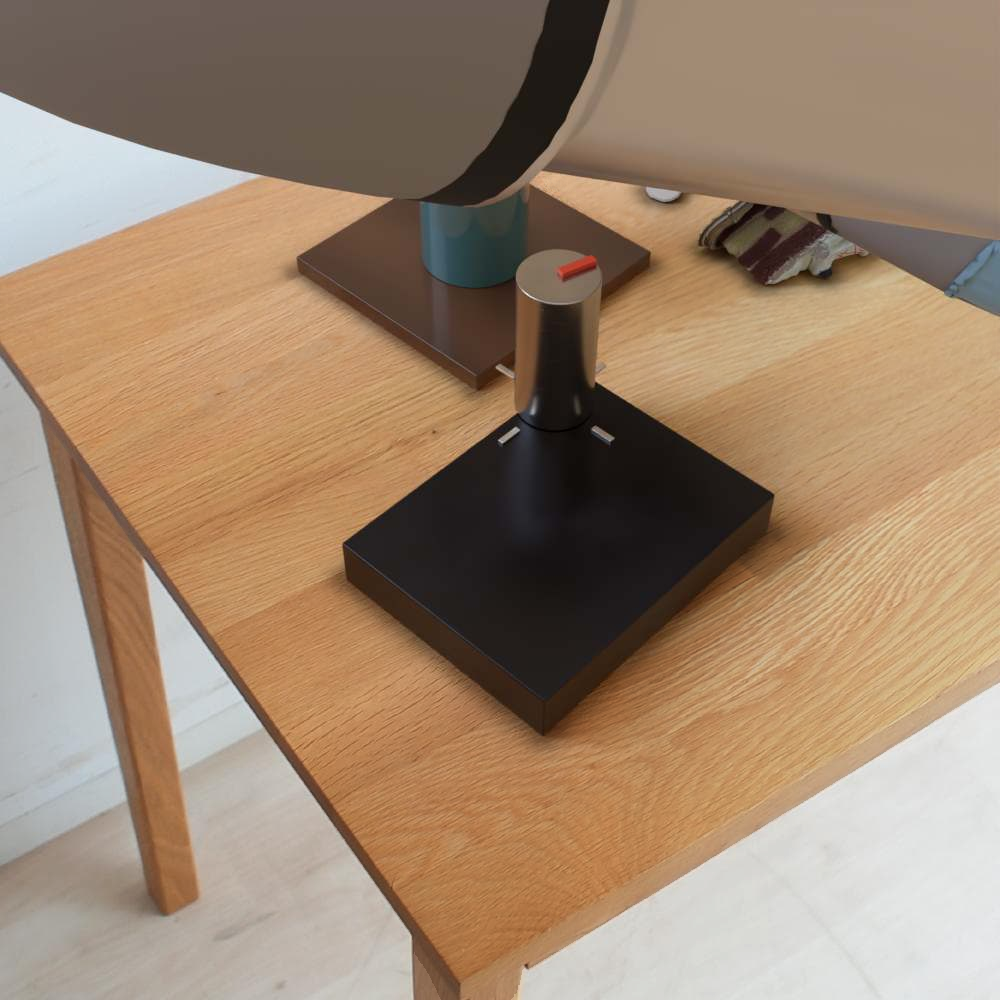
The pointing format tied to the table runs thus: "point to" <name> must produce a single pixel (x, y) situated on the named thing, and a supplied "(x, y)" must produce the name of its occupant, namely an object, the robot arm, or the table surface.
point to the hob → (557, 550)
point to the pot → (475, 240)
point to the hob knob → (556, 338)
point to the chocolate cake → (775, 242)
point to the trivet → (444, 307)
